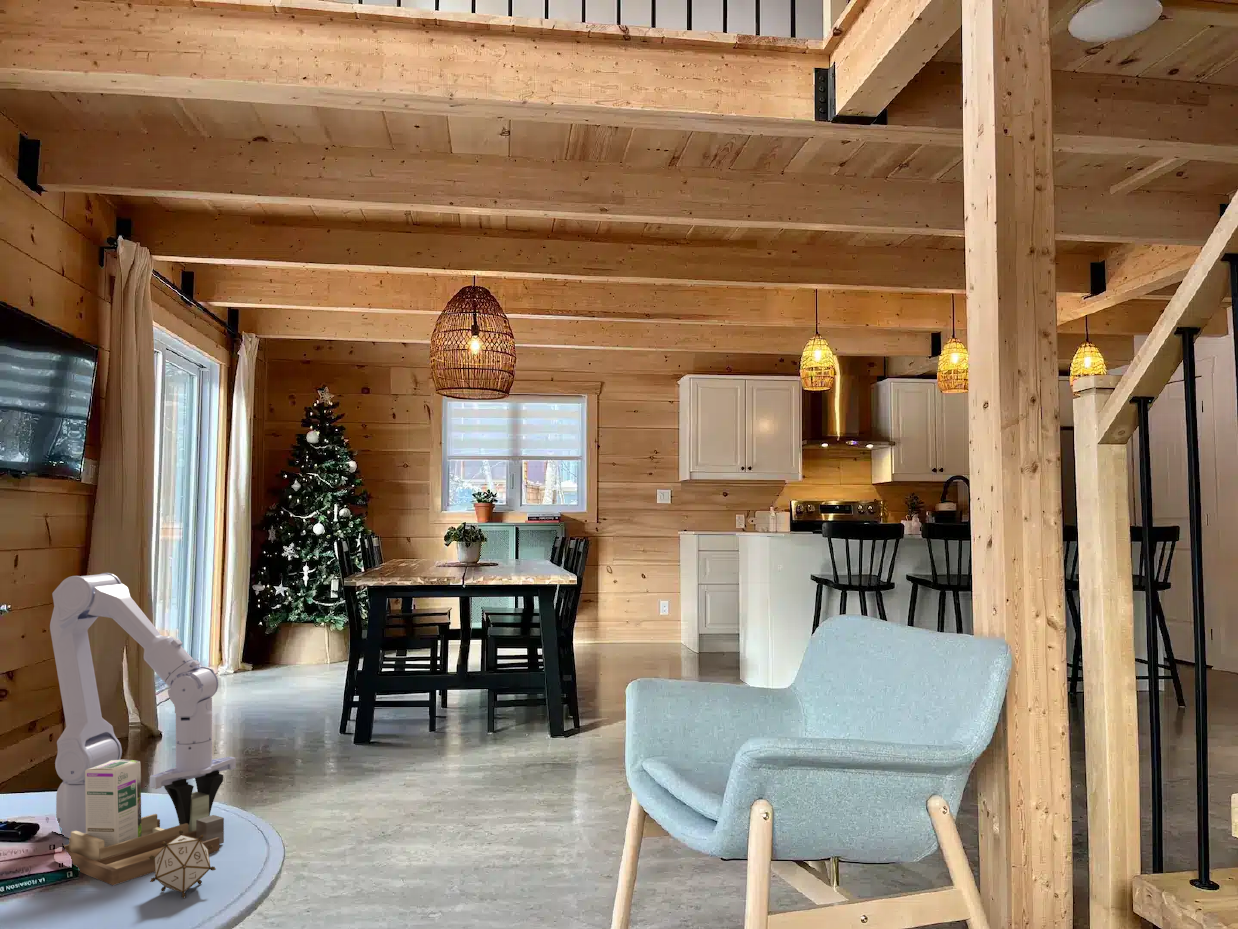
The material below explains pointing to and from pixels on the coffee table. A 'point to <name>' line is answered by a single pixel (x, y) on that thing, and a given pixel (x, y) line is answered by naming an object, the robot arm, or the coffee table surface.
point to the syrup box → (113, 801)
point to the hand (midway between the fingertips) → (194, 821)
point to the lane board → (128, 872)
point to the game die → (181, 863)
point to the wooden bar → (205, 827)
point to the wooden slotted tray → (149, 830)
